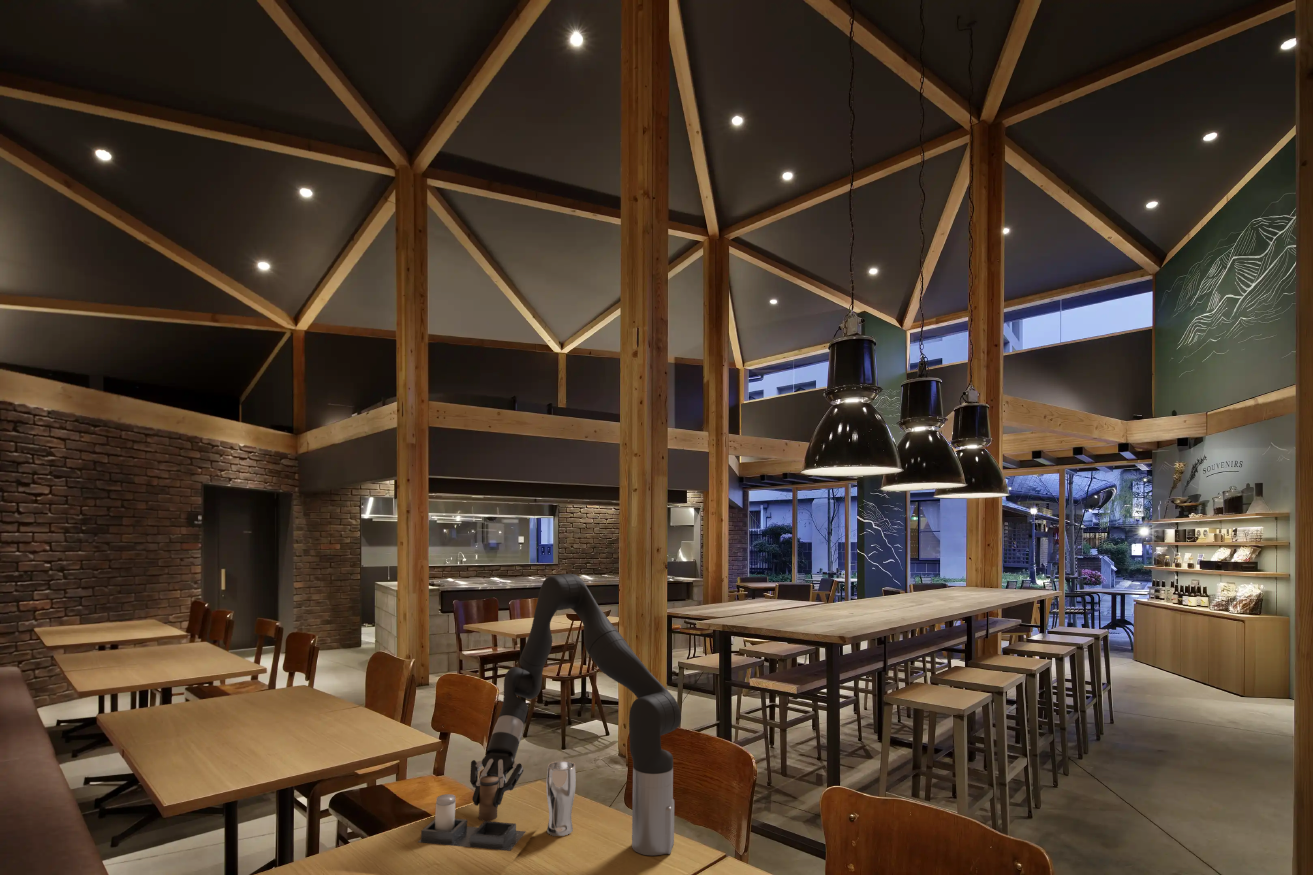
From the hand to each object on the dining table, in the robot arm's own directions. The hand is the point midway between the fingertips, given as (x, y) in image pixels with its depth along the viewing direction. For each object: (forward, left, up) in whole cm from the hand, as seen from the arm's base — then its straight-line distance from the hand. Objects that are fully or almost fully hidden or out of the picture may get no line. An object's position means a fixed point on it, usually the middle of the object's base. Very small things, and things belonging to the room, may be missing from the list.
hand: (485, 804), depth 171 cm
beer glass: (-19, 0, -5) cm, 20 cm away
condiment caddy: (-1, +9, -5) cm, 10 cm away
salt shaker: (+6, +9, -4) cm, 12 cm away
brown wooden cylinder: (0, -2, -5) cm, 5 cm away
